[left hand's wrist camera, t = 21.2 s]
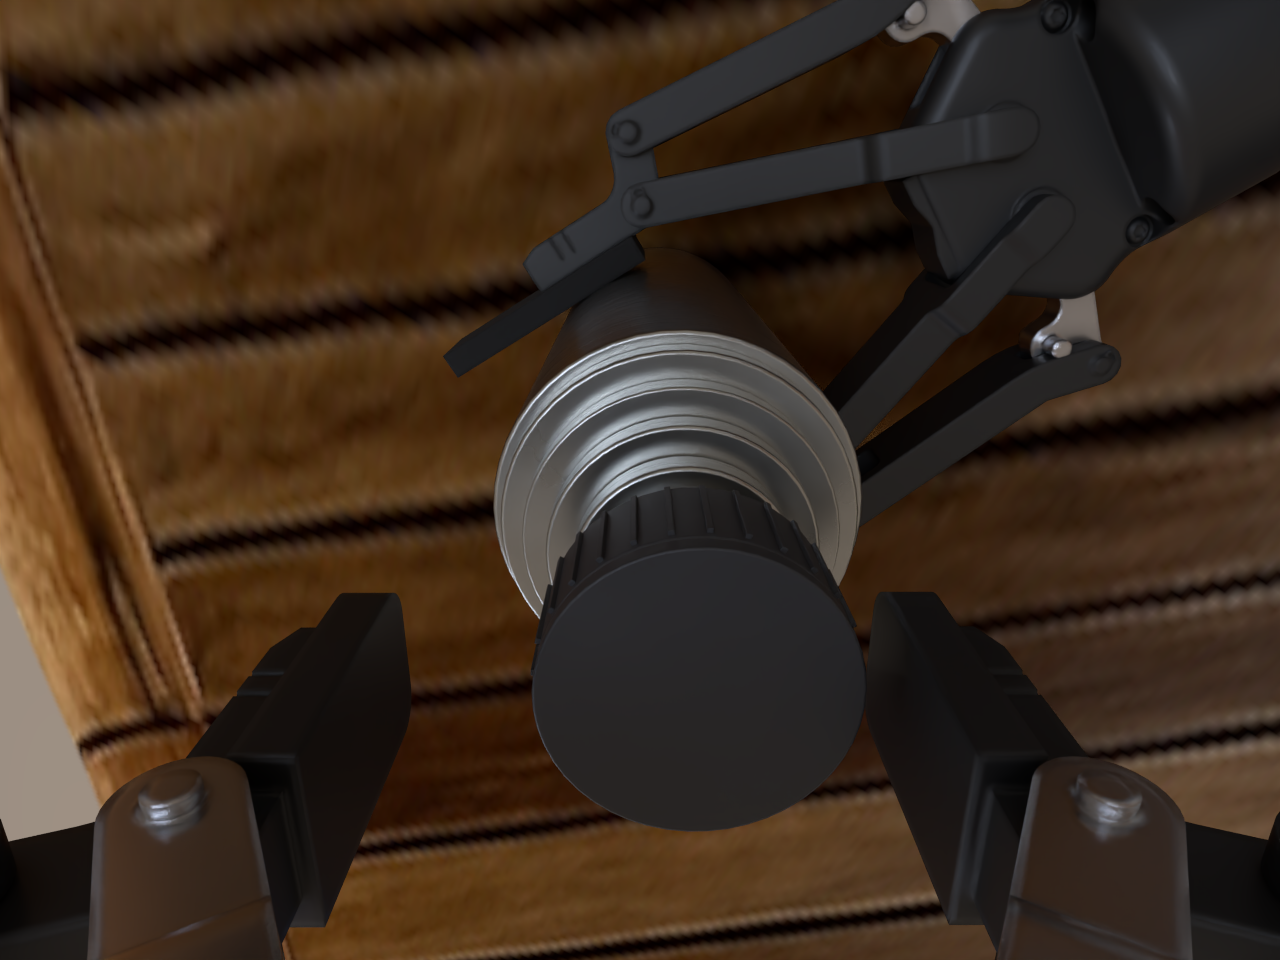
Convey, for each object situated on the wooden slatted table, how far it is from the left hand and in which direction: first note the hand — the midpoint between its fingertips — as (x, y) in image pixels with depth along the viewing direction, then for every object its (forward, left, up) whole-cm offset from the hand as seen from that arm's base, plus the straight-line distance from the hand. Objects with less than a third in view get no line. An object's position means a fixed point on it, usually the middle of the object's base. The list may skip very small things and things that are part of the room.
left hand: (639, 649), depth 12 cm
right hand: (+2, -4, -15) cm, 16 cm away
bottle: (0, +1, -21) cm, 21 cm away
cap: (0, +1, +1) cm, 2 cm away
